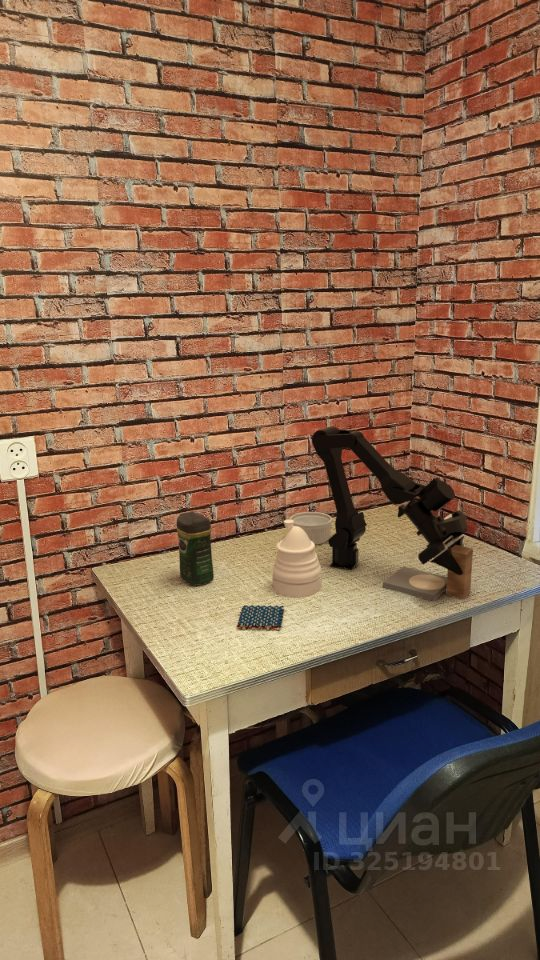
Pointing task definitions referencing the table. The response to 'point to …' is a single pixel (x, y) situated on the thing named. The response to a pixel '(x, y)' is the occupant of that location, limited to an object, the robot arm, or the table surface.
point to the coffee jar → (195, 548)
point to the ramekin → (314, 525)
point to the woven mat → (261, 617)
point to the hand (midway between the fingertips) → (465, 570)
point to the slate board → (416, 583)
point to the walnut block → (461, 583)
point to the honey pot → (296, 564)
